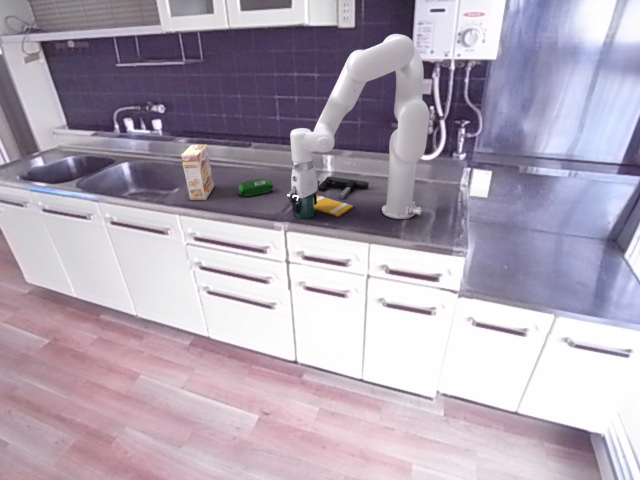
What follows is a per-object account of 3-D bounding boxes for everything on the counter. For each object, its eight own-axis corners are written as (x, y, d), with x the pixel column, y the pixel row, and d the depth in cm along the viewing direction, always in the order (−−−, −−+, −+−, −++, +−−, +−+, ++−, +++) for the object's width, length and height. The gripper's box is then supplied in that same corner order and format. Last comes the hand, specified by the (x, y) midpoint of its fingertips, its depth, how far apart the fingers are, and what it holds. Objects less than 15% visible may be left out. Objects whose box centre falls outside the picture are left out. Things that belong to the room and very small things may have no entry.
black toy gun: (357, 195, 151) (369, 179, 163) (312, 188, 159) (327, 174, 171) (357, 202, 153) (369, 186, 165) (313, 195, 160) (328, 180, 172)
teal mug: (318, 213, 144) (317, 193, 140) (306, 220, 139) (305, 200, 135) (298, 206, 149) (297, 188, 145) (286, 213, 144) (284, 194, 140)
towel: (352, 207, 147) (352, 205, 147) (338, 216, 141) (338, 214, 140) (317, 196, 157) (316, 194, 157) (301, 205, 150) (301, 203, 150)
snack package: (276, 192, 162) (275, 181, 160) (240, 198, 157) (238, 187, 155) (271, 187, 168) (270, 176, 165) (236, 192, 163) (235, 181, 160)
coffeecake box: (206, 200, 157) (197, 154, 147) (189, 200, 157) (179, 154, 147) (214, 186, 170) (207, 143, 160) (199, 187, 170) (190, 144, 160)
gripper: (294, 173, 125) (297, 219, 134) (325, 160, 137) (326, 202, 146) (278, 169, 130) (282, 214, 138) (310, 156, 141) (311, 198, 150)
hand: (305, 208), depth 142 cm, fingers open, 9 cm apart
